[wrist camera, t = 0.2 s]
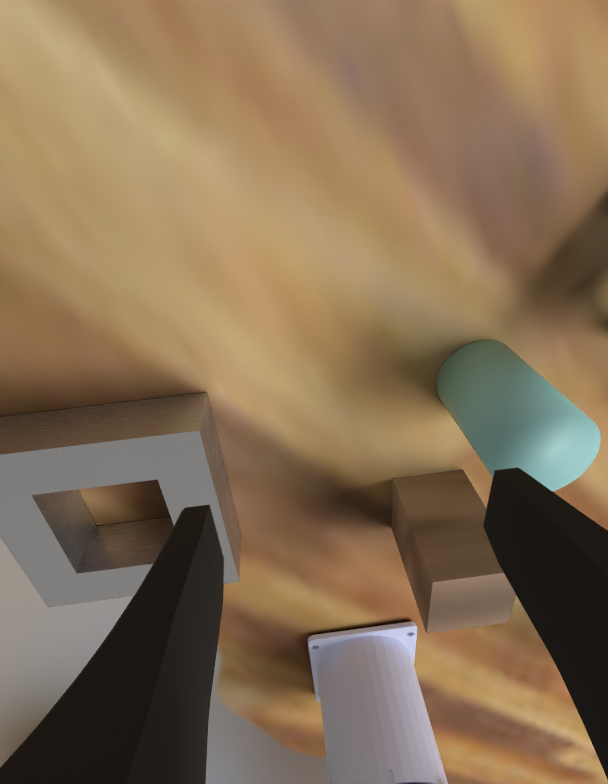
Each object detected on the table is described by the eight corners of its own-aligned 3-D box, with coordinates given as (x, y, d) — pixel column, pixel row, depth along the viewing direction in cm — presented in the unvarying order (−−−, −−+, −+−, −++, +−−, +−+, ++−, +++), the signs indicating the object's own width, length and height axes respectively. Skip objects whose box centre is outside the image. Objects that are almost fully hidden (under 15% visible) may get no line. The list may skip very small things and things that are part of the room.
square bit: (455, 518, 26) (508, 622, 21) (391, 527, 26) (426, 633, 21) (463, 469, 24) (523, 570, 19) (392, 478, 24) (432, 582, 19)
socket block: (241, 536, 25) (239, 581, 23) (69, 558, 25) (48, 607, 22) (206, 392, 20) (199, 430, 18) (-12, 418, 20) (-51, 460, 17)
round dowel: (509, 406, 22) (584, 489, 17) (433, 416, 22) (486, 502, 17) (524, 335, 20) (614, 406, 15) (439, 345, 20) (502, 419, 15)
